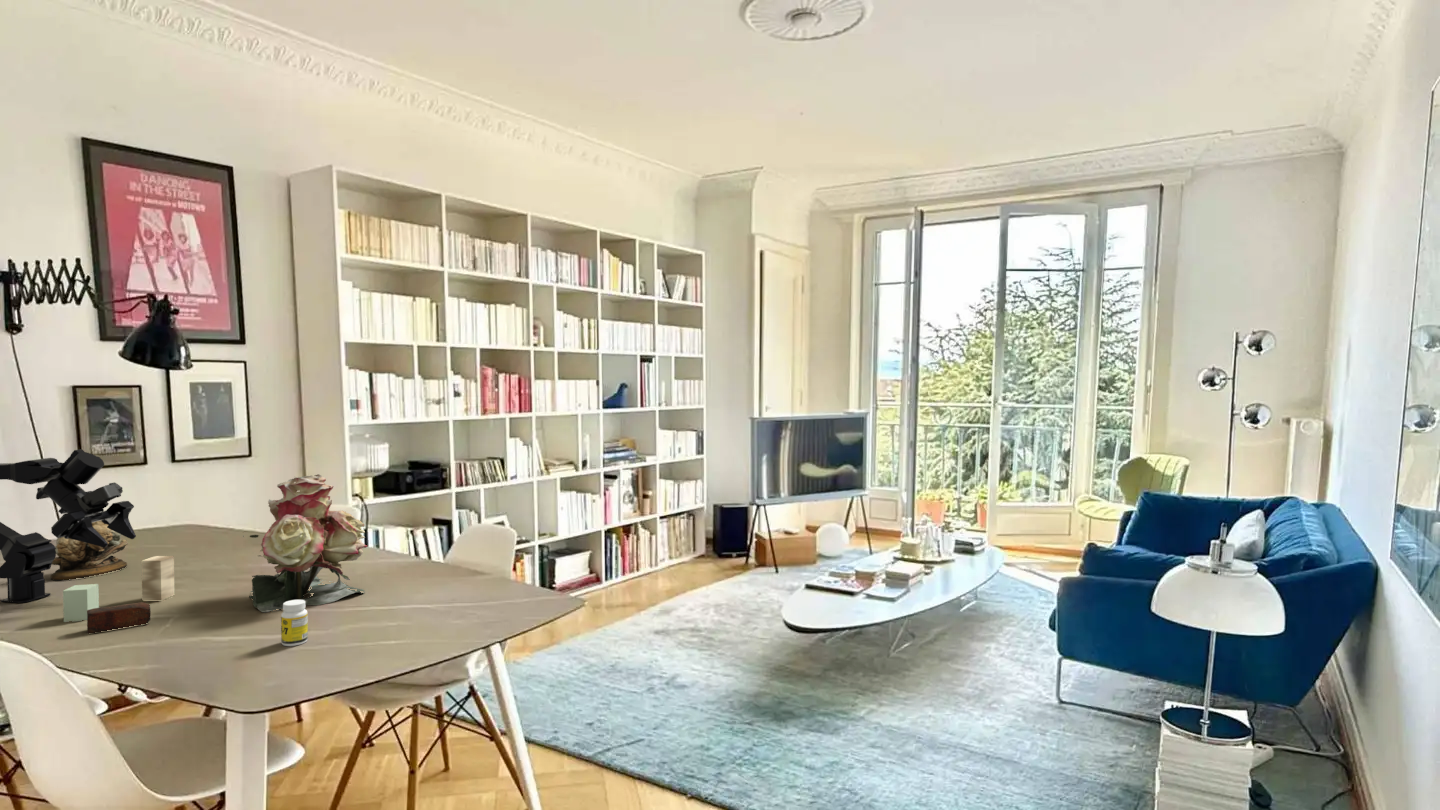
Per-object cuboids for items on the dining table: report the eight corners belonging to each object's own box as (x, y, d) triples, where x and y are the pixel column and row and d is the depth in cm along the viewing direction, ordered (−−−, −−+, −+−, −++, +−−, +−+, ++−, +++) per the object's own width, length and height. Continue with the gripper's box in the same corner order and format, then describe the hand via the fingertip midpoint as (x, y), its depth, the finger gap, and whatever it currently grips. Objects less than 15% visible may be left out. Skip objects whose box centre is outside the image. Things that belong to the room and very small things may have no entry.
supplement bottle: (278, 642, 152) (278, 601, 152) (303, 636, 156) (303, 597, 155) (285, 648, 149) (284, 607, 148) (310, 642, 152) (310, 602, 152)
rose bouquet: (260, 619, 166) (258, 487, 165) (242, 590, 189) (240, 473, 188) (381, 598, 183) (380, 477, 181) (351, 573, 205) (350, 466, 204)
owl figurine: (112, 563, 214) (111, 504, 214) (141, 567, 211) (140, 507, 210) (38, 578, 197) (38, 515, 197) (68, 583, 193) (68, 518, 193)
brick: (87, 635, 155) (86, 613, 155) (87, 630, 158) (86, 609, 158) (150, 625, 162) (150, 604, 162) (149, 620, 165) (149, 599, 165)
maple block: (142, 601, 178) (141, 560, 178) (155, 596, 183) (155, 556, 182) (161, 601, 178) (160, 560, 178) (174, 596, 183) (173, 556, 183)
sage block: (63, 622, 163) (62, 590, 163) (75, 615, 168) (74, 585, 167) (87, 620, 165) (87, 589, 164) (99, 614, 169) (98, 583, 169)
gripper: (61, 479, 169) (112, 525, 170) (124, 469, 188) (170, 510, 189) (27, 514, 170) (80, 560, 170) (94, 500, 188) (141, 542, 189)
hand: (120, 541), depth 180 cm, fingers open, 8 cm apart
